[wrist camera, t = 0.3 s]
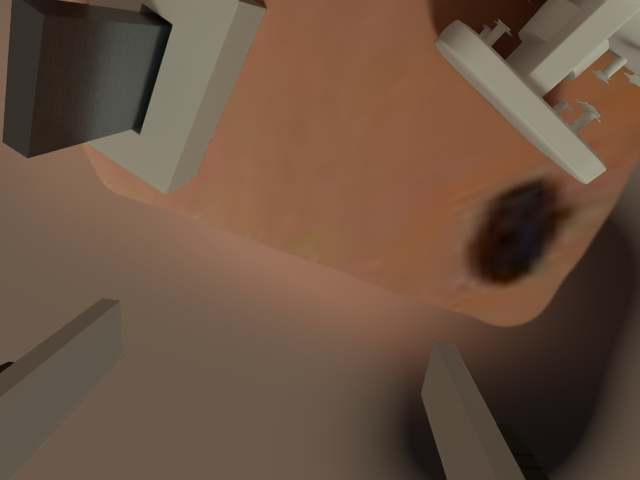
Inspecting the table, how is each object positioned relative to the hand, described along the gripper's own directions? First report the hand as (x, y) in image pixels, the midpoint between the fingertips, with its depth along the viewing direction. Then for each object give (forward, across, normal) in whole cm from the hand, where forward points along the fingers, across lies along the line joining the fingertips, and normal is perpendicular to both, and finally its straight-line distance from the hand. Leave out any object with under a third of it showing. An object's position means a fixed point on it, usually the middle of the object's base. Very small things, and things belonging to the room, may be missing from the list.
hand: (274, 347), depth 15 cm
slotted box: (+28, -16, +12) cm, 34 cm away
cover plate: (+26, -16, +12) cm, 33 cm away
